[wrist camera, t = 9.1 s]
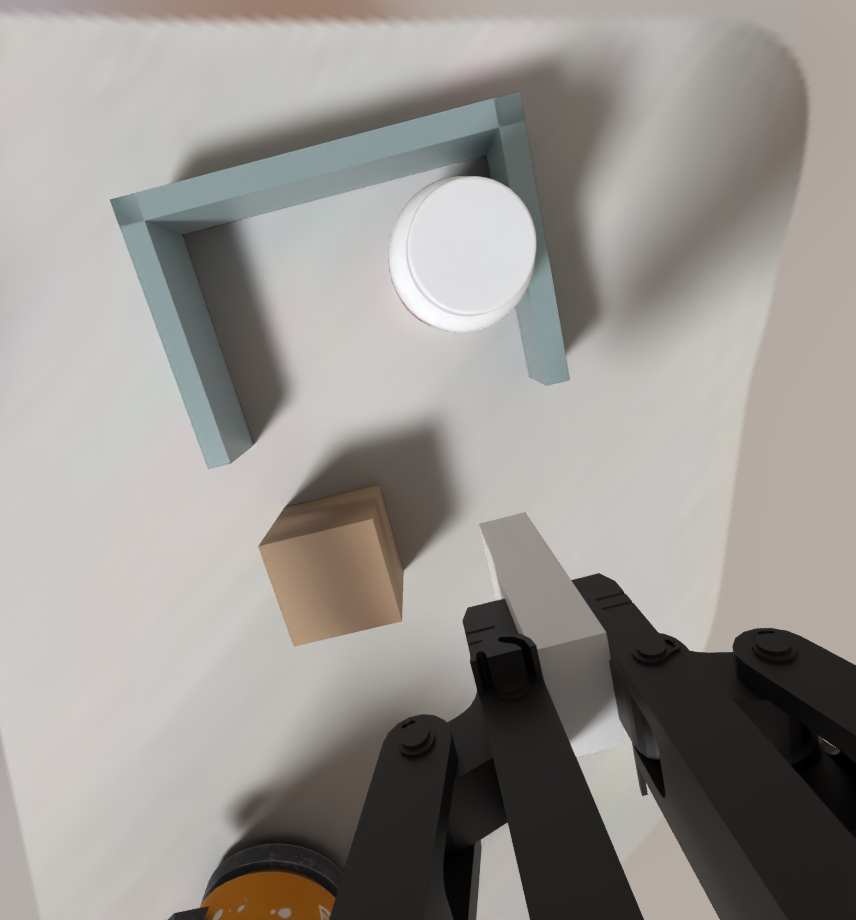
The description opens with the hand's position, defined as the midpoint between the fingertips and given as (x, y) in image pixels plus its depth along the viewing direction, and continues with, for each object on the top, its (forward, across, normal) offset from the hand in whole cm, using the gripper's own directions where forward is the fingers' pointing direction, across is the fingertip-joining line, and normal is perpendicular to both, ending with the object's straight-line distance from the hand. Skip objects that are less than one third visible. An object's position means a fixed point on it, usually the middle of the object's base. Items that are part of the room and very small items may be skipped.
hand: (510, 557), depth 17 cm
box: (+11, -3, +9) cm, 15 cm away
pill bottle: (+11, +1, +9) cm, 14 cm away
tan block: (+11, -7, -2) cm, 13 cm away
